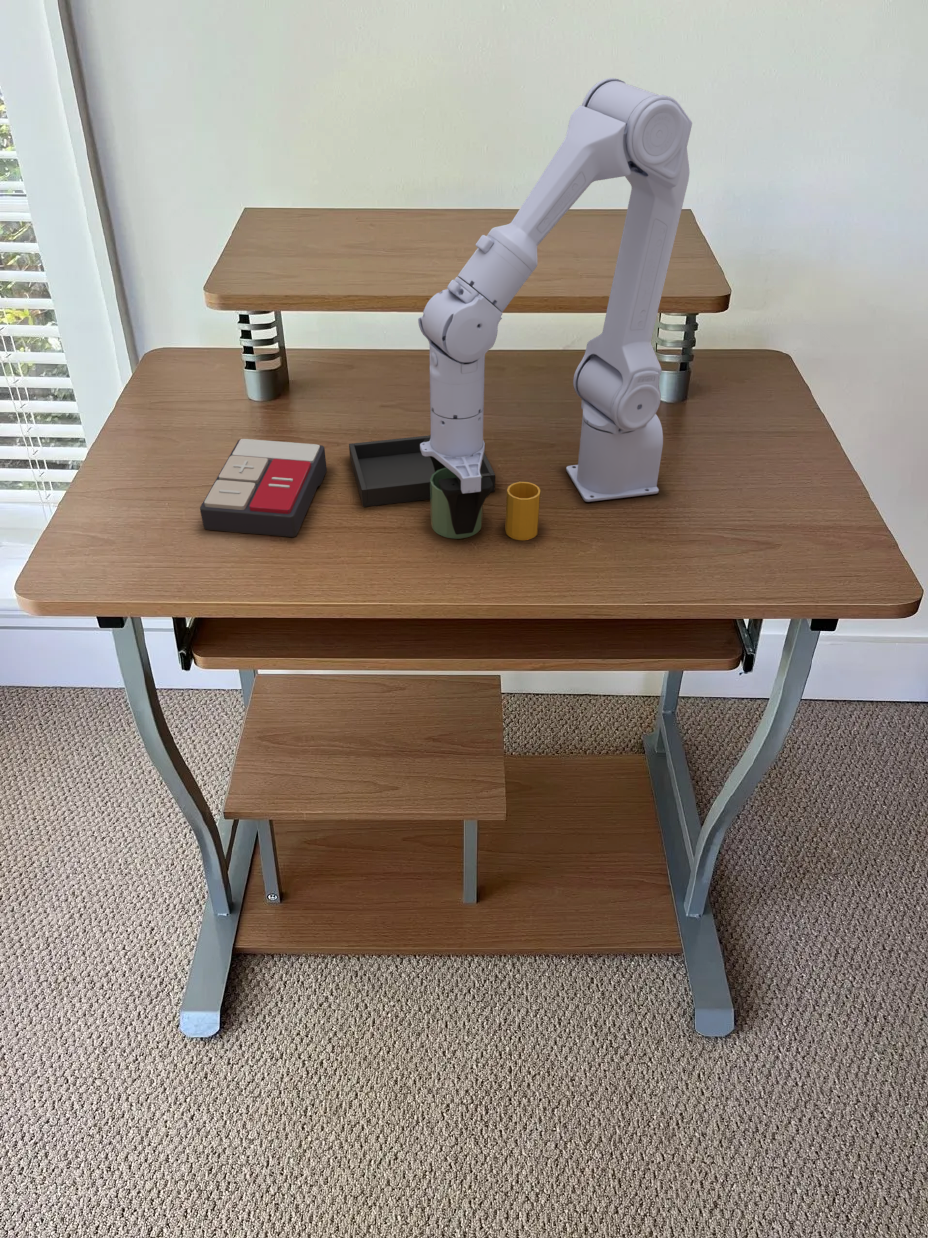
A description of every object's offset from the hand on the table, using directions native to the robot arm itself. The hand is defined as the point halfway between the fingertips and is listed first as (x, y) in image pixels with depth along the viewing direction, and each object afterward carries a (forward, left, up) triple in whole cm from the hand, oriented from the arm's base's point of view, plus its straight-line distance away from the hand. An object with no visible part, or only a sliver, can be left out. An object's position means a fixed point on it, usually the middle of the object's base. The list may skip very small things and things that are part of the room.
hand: (456, 514), depth 114 cm
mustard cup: (-7, +3, -1) cm, 8 cm away
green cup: (0, 0, -1) cm, 1 cm away
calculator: (+21, -10, -2) cm, 23 cm away
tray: (+2, -12, -1) cm, 12 cm away
